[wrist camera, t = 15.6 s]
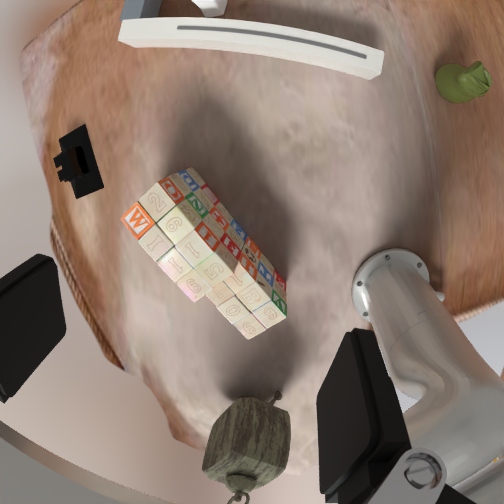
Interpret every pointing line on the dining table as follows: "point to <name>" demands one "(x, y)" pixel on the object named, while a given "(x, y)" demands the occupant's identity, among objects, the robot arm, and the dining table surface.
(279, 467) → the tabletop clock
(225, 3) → the white faceted vase
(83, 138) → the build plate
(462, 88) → the pear
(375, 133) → the dining table surface
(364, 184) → the dining table surface
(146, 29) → the guide fence
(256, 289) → the stack of blocks
